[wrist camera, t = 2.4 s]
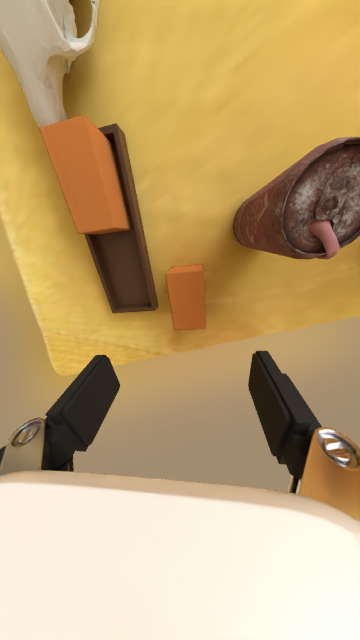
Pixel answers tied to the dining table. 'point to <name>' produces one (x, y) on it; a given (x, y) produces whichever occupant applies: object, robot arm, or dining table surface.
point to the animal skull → (43, 50)
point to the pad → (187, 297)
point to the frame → (124, 245)
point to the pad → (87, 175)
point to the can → (307, 205)
